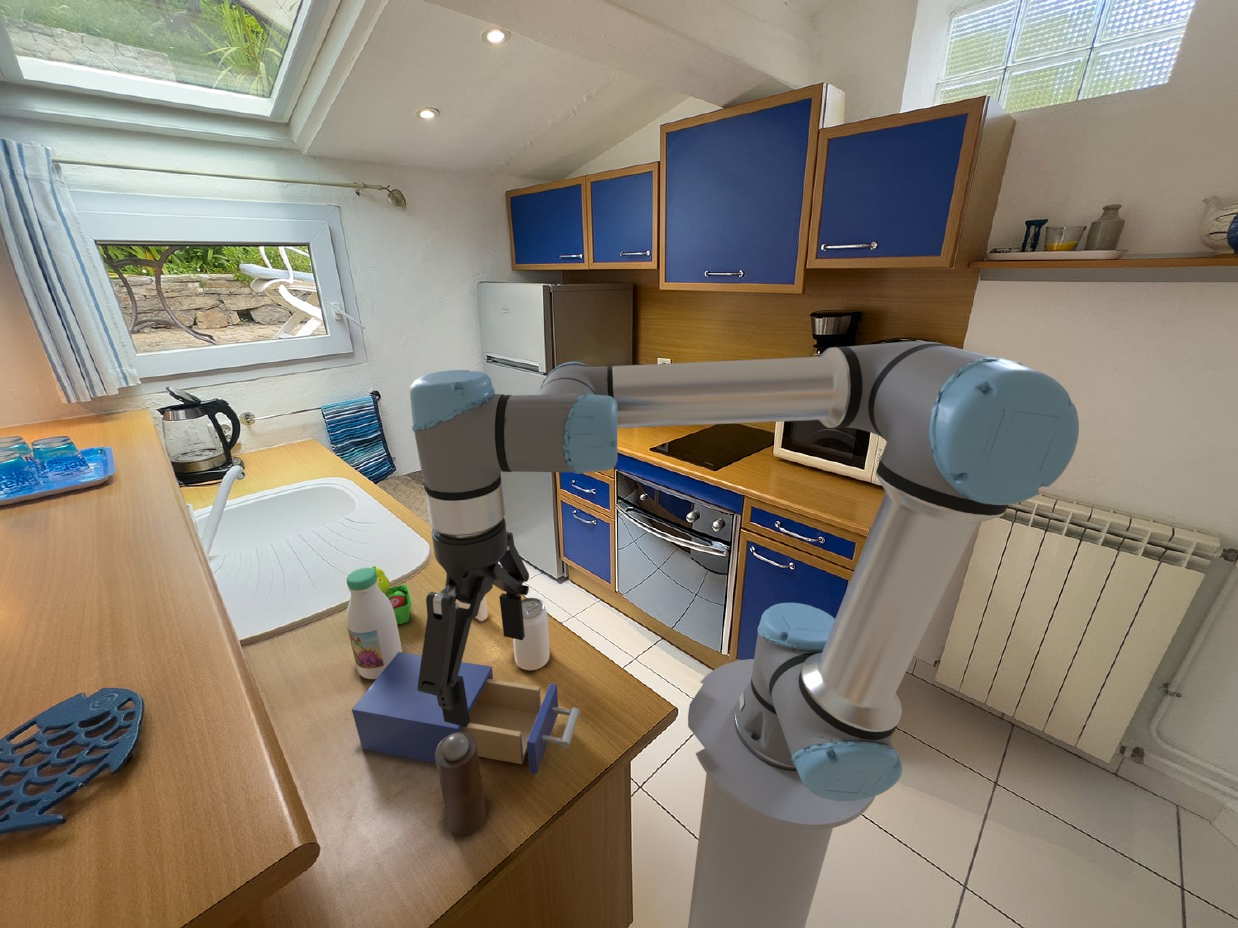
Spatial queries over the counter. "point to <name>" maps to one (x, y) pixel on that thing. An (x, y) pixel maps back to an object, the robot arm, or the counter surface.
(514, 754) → the drawer
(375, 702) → the cabinet
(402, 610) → the fruit basket
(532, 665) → the can
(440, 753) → the pepper mill
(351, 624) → the milk bottle
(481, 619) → the perfume bottle
